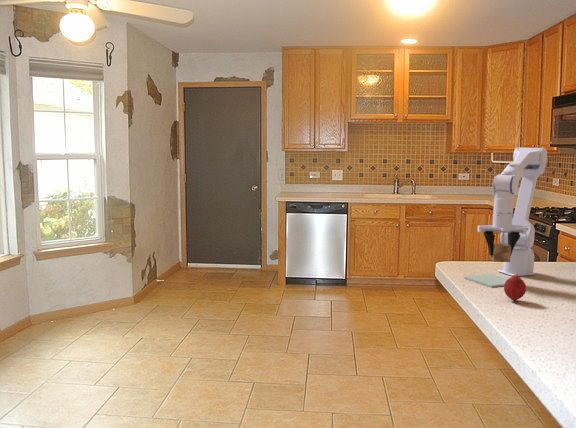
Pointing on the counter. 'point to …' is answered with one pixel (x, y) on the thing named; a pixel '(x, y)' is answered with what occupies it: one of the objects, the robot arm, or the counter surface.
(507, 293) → the onion
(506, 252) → the walnut cube
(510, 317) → the counter surface
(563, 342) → the counter surface
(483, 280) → the ceramic tile
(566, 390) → the counter surface
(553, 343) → the counter surface
